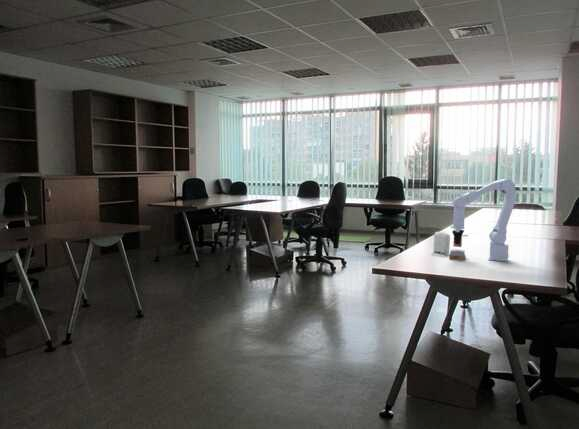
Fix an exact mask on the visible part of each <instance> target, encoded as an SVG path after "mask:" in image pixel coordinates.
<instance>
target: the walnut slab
mask: <svg viewBox="0 0 579 429" xmlns="http://www.w3.org/2000/svg"><path fill="white" fill-rule="evenodd" d="M448 258H449V260H454V259H457V261H458V260H459V261H465V260H466V258H467V255H466V254H464V257H463V256H450V255H449V257H448Z"/></svg>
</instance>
